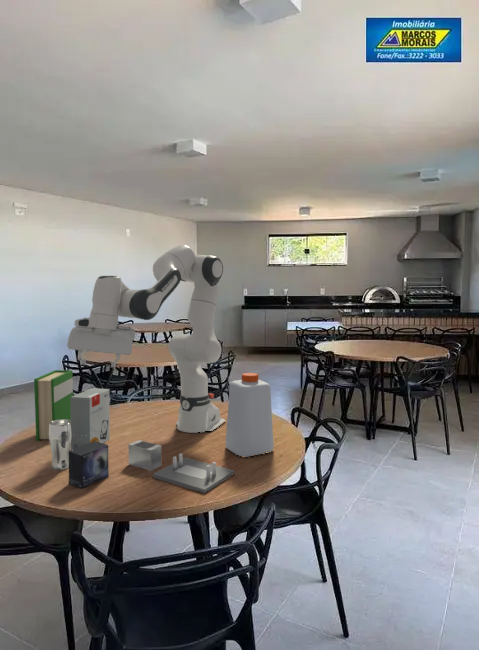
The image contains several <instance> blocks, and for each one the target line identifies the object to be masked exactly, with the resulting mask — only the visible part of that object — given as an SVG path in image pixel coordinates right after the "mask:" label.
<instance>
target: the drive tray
mask: <svg viewBox="0 0 479 650" xmlns="http://www.w3.org/2000/svg"><path fill="white" fill-rule="evenodd" d="M183 455H184V454H183V453H178V459H177V456H175V455H174V456H172V463H171V464H170V465H167V466H166V467H163V468H162V469H159V470H158V471H156V472H153V473H152V478H153V479H156V480H159V481H162V482H165V483H169V484H172V485H176V486H179V487H182V488H185V489H188V490H189V489H190V490H192V491H196V492H198V491H200V492H199V493H201V492H203V493H202V494H204V493H205V494H207V493H208V492H210V491H211V490H213V489H214V488H216V487H217V486H219V485H220V484H222V483H223V482H225V481H226V480H228V479H229V478H231V477H232V476H231V475H232V474H234V473H236V472H235V470H234V469H230V468H225V467H223V466H219V465H217V462H215V461H212V463H208V462H204V461H200V460H195V459H193V458H188V457H184V456H183ZM234 475H235V474H234ZM230 476H231V477H230ZM228 477H229V478H228ZM227 478H228V479H227ZM225 479H226V480H225ZM224 480H225V481H224ZM222 481H223V482H222ZM221 482H222V483H221ZM219 483H220V484H219ZM218 484H219V485H218ZM216 485H217V486H216ZM215 486H216V487H215ZM212 488H213V489H212ZM209 490H210V491H209ZM207 491H208V492H207ZM206 492H207V493H206Z"/></svg>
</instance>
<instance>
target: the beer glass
mask: <svg viewBox="0 0 479 650" xmlns="http://www.w3.org/2000/svg"><path fill="white" fill-rule="evenodd" d="M48 440H49V441H48V442H49V446H50V451H51V470H53V471H65V470H69V453H68V451H69V450H71V440H72V430H71V421H70V420H66V419H61V420H55V421H52V422H50V423H49V439H48Z"/></svg>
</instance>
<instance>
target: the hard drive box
mask: <svg viewBox="0 0 479 650" xmlns="http://www.w3.org/2000/svg"><path fill="white" fill-rule="evenodd" d="M70 404H71V430H72V440H71V447H70V450H72V449H75V448H77V447H80V446H83V445H86V444H89V443H92V442H94V441H97V442H100V443H103V444H105V443H106V442H107V441H109V440H110V436H111V434H110V432H111V431H110V426H111V425H110V424H111V423H110V389H109V388H97V387H96V388H94V387H93V388H89V389H87V390H84V391H82V392H80V393H78V394H75V395H74V394H73V396H72V397H71V398H70Z"/></svg>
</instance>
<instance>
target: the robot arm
mask: <svg viewBox="0 0 479 650" xmlns="http://www.w3.org/2000/svg"><path fill="white" fill-rule="evenodd" d="M152 272H153V276H154V279H156V283H155V284H153V286H151V287H150V288H145V289H131V288H130V287H128V286H127V285H126V284H125V283H124V282H123V280H122V278H121V277H120V276H118V275H100V276H98V277H97V278H96V280H95V283H94V286H93V292H92V297H91V298H92V299H91V301H92V308H91V310H90V314H89V317H83V318H79V319H78V318H77V319H75V320H74V327H72V329H71V330H70V333H69V335H68V338H67V345H66V347H67V348H68V349H69V350H74V351H78V352H77V355H78V357H79V359H80V366H86V361H87V359H84V357H83V354H84V351H85V352H96V353H103V354H115V360H114V361H111V362H110V364H111V365H110V368H113V369H116V365H117V363H118V361H119V360H120V359H121V355H124V356H126V355H127V356H130V355H131V354H132V353H133V341H134V340H135V337H136V331H135V329H133V328H132V327H130V326H122V325H118V323H119V317H121V318H128V319H129V318H130V319H138V320H144V321H149V320H152V319H154V318H155V317H156V316H157V315H158V313H159V311H160V310H161V307H162V305H163V304H164V302H165V301H166V300H167V299H168V298H169V296H171V295H172V293H173V292H175V290H176V289H177V288H178V286H179V284H180V283H181V282H189V283H193V286H194V288H193V291H192V293H191V298H190V303H189V308H188V312H187V316H186V317H187V321H188V322H189V324H191V327H192V334H189V333H187V334H186V333H182V334H176V335H173V336H172V338H171V339H170V340H169V342H168V347H167V348H168V352H169V354H170V355H171V357H172V358H173V359H174V361H175V363H176V366H177V367H178V372H179V375H180V376H179V378H180V395H179V404H180V405H179V406H178V417H177V421H176V423H175V425H176V426H177V427H176V429H177V430H178V431H179V432H183V433H191V434H196V433H197V434H198V432H200V433H206V432H205V431H213V430H214V429H216V428H217V427H218V426H220V425H221V424H222V423H223V422H225V421H227V419H224V418H222V417H221V410H220V409H219V408H218V407H217V406H216V405H214V403H212V401H211V399H214V397H215V394H214V393H209V392H208V390H209V389H208V387H209V385H208V384H209V380H208V378H209V377H208V375H207V373H206V372H205V371H204V370H203V368H202V366H201V364H203V365H204V364H213V363H216V362H217V361H218V360H219V359H220V357H221V356H222V346H221V345H222V344H221V343H220V341H219V340H218V339H217V336H216V334H215V325H214V324H215V317H216V310H217V305H218V301H219V282H220V280H221V278H222V275H223V272H224V265H223V263H222V260H221V258H219V257H217V256H214V255H210V254H209V255H206V254H205V255H204V254H196V253H195V252H194V250H193V249H192V247H190V246H188V245H186V244H180V245H177V246H174V247H173V248H171V249H168V251H166V252H164V253H163V254H162V255H160V257H158V258H157V259H156V260H155V261H154V263H153V265H152ZM225 423H226V422H225ZM221 426H222V425H221ZM221 426H220V427H221ZM218 428H219V427H218ZM218 428H217V429H218ZM217 429H216V430H217ZM214 431H215V430H214ZM214 431H213V432H214Z"/></svg>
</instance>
